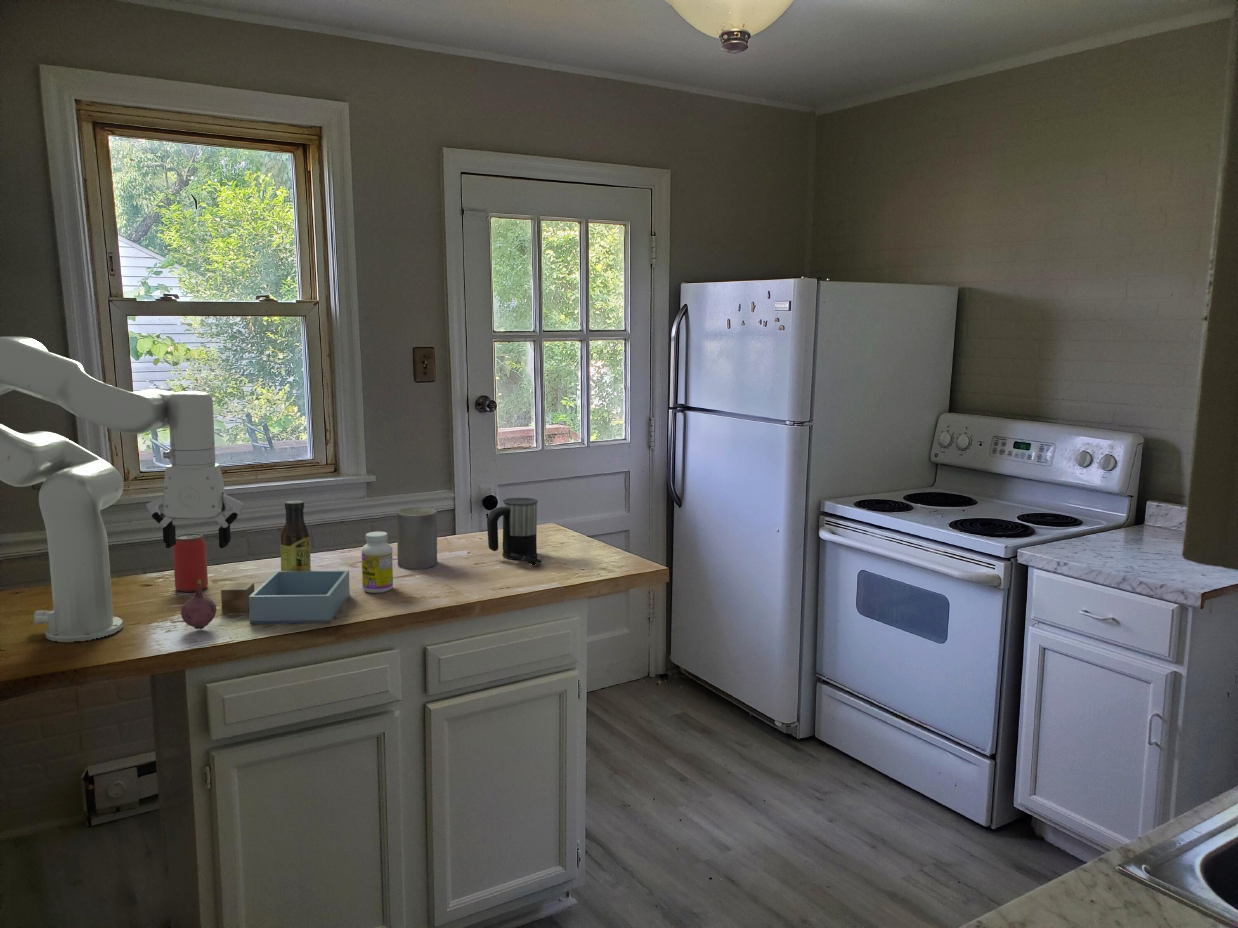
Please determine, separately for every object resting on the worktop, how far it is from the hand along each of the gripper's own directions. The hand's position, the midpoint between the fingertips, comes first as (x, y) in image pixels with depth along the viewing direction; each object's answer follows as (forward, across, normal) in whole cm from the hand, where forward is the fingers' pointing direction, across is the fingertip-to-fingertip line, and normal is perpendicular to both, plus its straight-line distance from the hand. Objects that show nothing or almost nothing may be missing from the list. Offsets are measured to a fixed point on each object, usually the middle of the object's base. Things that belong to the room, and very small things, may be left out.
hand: (197, 546), depth 167 cm
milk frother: (+16, +62, +49) cm, 81 cm away
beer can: (+17, -12, +28) cm, 34 cm away
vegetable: (+17, 0, -1) cm, 17 cm away
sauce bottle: (+16, +11, +26) cm, 33 cm away
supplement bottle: (+16, +29, +25) cm, 42 cm away
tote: (+16, +16, +12) cm, 26 cm away
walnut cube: (+16, +3, +12) cm, 21 cm away
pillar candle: (+16, +36, +46) cm, 60 cm away
